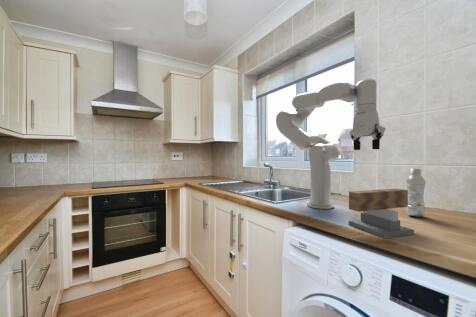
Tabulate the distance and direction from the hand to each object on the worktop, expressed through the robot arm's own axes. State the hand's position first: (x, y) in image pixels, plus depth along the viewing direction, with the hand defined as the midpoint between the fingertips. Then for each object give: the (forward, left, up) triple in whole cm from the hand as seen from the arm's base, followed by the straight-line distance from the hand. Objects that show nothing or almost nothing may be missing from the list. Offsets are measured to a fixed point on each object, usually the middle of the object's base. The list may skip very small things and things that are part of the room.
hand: (366, 149), depth 97 cm
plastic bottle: (+8, +18, -28) cm, 35 cm away
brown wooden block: (+16, -11, -21) cm, 29 cm away
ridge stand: (+16, -11, -28) cm, 34 cm away
